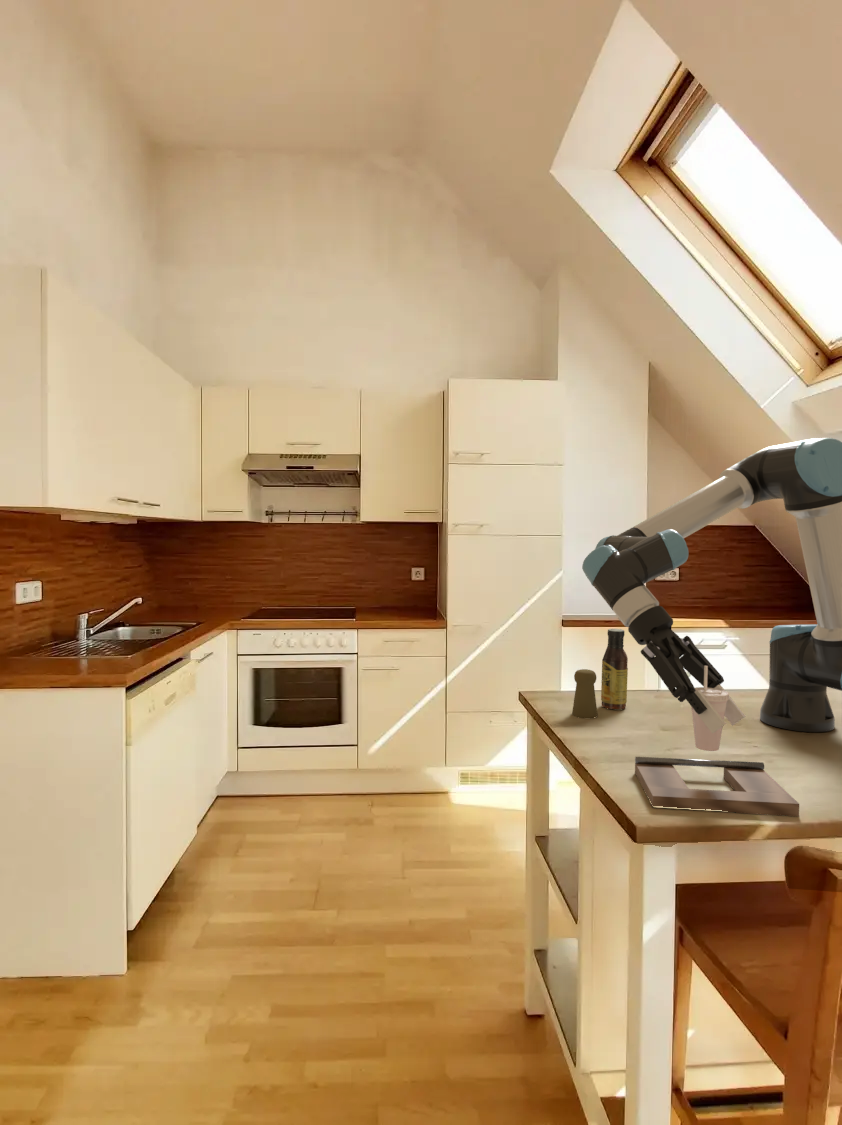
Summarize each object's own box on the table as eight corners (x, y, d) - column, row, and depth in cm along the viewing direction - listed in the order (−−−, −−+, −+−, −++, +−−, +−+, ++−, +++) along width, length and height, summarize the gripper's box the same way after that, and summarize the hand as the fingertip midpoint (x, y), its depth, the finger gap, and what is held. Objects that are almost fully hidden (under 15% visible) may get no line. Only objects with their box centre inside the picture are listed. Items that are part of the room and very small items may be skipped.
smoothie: (692, 739, 120) (694, 661, 120) (731, 746, 116) (733, 665, 116) (682, 748, 115) (684, 666, 114) (723, 756, 111) (725, 671, 111)
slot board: (761, 779, 122) (761, 768, 121) (798, 816, 106) (799, 803, 106) (634, 773, 125) (635, 762, 124) (652, 808, 109) (652, 795, 109)
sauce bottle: (598, 704, 174) (599, 627, 173) (622, 704, 174) (624, 627, 173) (604, 711, 167) (605, 631, 167) (630, 711, 167) (631, 631, 166)
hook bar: (761, 768, 122) (761, 761, 122) (764, 770, 120) (764, 763, 120) (635, 762, 125) (635, 755, 124) (636, 764, 123) (636, 757, 123)
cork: (598, 719, 160) (599, 673, 160) (572, 717, 161) (572, 671, 161) (596, 712, 166) (597, 668, 166) (571, 711, 167) (572, 666, 167)
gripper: (658, 625, 133) (739, 726, 121) (600, 634, 120) (684, 748, 109) (684, 600, 129) (771, 702, 117) (626, 607, 116) (717, 722, 104)
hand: (729, 724), depth 113 cm, fingers closed on smoothie, 6 cm apart
